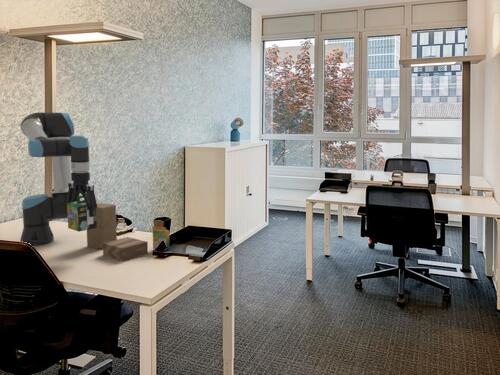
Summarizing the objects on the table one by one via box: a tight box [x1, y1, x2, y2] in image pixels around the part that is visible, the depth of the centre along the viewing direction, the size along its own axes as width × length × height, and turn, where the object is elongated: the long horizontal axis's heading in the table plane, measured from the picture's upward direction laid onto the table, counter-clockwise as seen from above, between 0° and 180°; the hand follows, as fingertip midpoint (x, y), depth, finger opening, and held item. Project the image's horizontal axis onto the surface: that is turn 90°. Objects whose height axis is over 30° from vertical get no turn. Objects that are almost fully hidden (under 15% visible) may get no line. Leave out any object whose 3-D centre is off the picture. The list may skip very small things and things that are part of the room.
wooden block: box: [86, 202, 118, 250], centre depth 221 cm, size 10×10×20 cm
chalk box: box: [67, 195, 97, 233], centre depth 199 cm, size 9×9×15 cm
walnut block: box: [102, 236, 149, 262], centre depth 208 cm, size 14×14×6 cm
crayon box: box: [152, 226, 170, 251], centre depth 215 cm, size 7×3×12 cm, turn 70°
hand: (82, 222), depth 200 cm, fingers closed on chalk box, 9 cm apart
